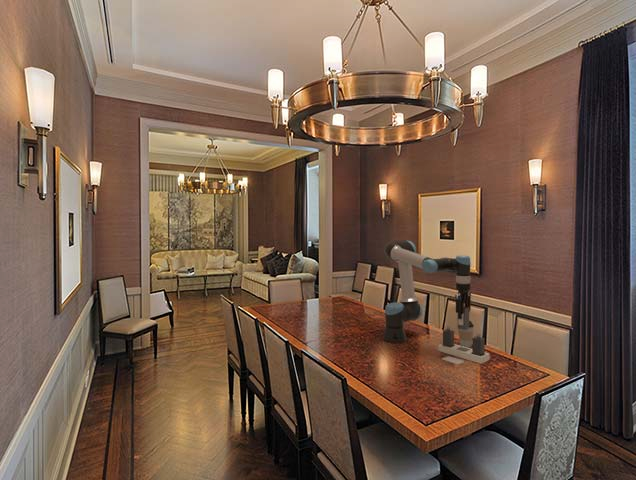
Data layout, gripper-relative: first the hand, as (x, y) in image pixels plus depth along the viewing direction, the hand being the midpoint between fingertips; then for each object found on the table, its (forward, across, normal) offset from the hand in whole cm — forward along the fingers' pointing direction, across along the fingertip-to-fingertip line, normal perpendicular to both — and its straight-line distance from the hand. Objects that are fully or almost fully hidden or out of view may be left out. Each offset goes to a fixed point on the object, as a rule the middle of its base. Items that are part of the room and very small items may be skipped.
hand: (463, 323), depth 199 cm
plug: (+3, 0, 0) cm, 3 cm away
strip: (+19, 0, 0) cm, 19 cm away
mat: (+19, -10, 0) cm, 21 cm away
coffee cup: (+19, +18, +8) cm, 27 cm away
